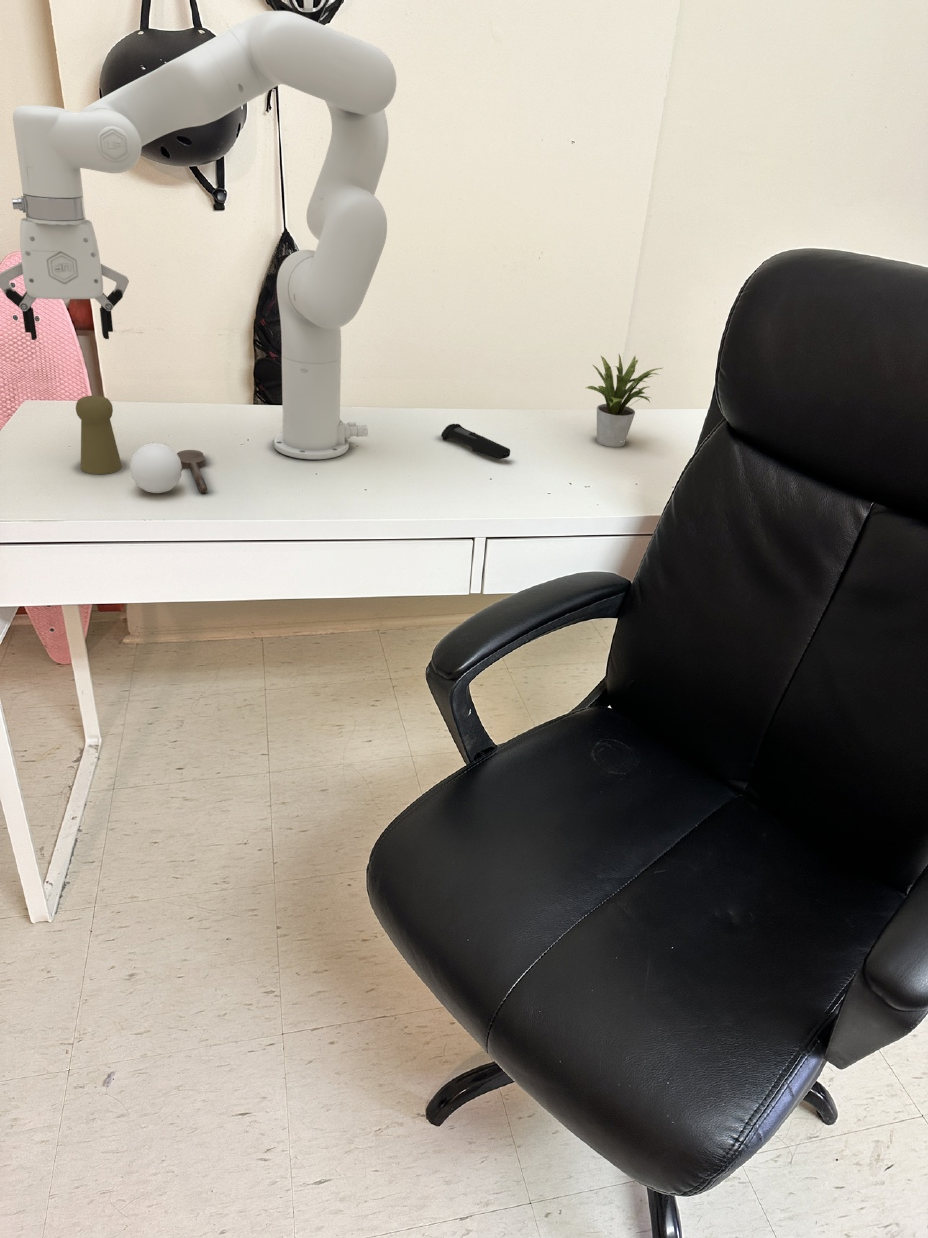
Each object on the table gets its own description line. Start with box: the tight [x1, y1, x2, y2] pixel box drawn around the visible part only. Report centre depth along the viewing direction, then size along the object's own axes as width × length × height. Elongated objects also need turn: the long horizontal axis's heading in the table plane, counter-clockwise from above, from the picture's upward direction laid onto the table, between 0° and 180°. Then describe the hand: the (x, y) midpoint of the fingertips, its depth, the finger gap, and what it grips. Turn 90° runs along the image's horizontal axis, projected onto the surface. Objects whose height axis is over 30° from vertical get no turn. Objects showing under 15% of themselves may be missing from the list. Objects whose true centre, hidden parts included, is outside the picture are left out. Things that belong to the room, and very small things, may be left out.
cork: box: [75, 395, 123, 475], centre depth 144 cm, size 6×6×11 cm
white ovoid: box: [129, 442, 184, 494], centre depth 140 cm, size 10×7×7 cm
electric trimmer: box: [440, 423, 511, 460], centre depth 166 cm, size 4×16×3 cm, turn 42°
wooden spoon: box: [176, 449, 209, 494], centre depth 147 cm, size 16×4×1 cm, turn 22°
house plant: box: [585, 354, 663, 448], centre depth 171 cm, size 14×14×16 cm
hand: (70, 337), depth 136 cm, fingers open, 9 cm apart
